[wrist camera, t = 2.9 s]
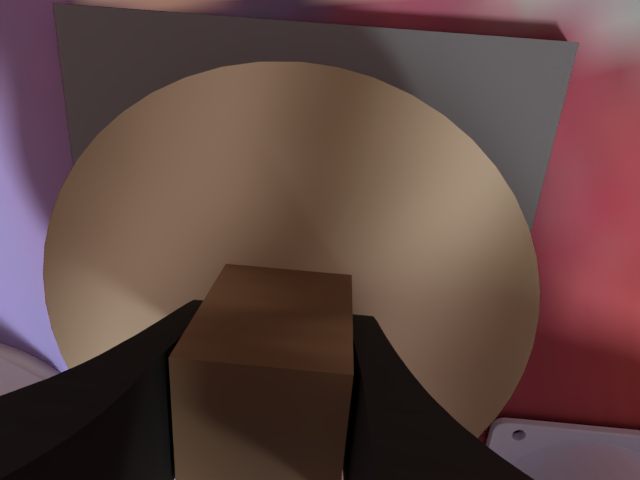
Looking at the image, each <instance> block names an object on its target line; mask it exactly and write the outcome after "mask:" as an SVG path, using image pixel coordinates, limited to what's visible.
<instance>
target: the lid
mask: <svg viewBox="0 0 640 480" xmlns="http://www.w3.org/2000/svg"><path fill="white" fill-rule="evenodd" d="M43 279H44V290H45V301H46V306H47V310H48V315H49V319H50V323H51V327H52V331H53V333H54V336H55V339H56V341H57V344H58V347H59V349H60V352H61V355H62V357H63V359H64V360H65V362H66V364H67V366H68V368H69V369H71V368H73V367H75V366H77V365H80V364H82V363H84V362H86V361H88V360H90V359H92V358H94V357H96V356H98V355H100V354H102V353H104V352H106V351H107V350H109V349H111V348H113V347H115V346H116V345H118V344H120V343H122V342H124V341H126V340H127V339H129V338H131V337H133V336H135V335H136V334H138V333H140V332H141V331H143V330H145V329H146V328H148V327H149V326H151V325H153V324H154V323H156V322H158V321H159V320H161V319H162V318H164V317H166V316H167V315H169V314H170V313H172V312H174V311H175V310H177V309H178V308H180V307H182V306H183V305H185V304H187V303H188V302H190V301H192V300H203V302H202V304H201V305H200V307H199V309H198V310H197V312H196V313H195V315H194V317H193V318H192V320H191V322H190V323H189V325H188V326H187V328H186V330H185V331H184V333H183V335H182V336H181V338H180V340H179V341H178V343H177V344H176V346H175V348H174V349H173V351H172V353H171V354H170V356H169V374H170V392H171V409H172V427H173V444H174V462H175V479H176V480H343V462H344V453H345V445H346V436H347V428H348V419H349V410H350V402H351V393H352V385H353V376H354V366H353V314H356V315H366V316H374V318H375V319H376V320H377V321H378V323H379V325H380V327H381V329H382V330H383V332H384V334H385V335H386V337H387V338H388V340H389V342H390V343H391V345H392V346H393V348H394V349H395V351H396V352H397V354H398V355H399V356H400V358H401V359H402V360H403V362H404V363H405V365H406V366H407V367H408V369H409V370H410V371H411V373H412V374H413V375H414V376H415V378H416V379H417V380H418V381H419V382H420V384H421V385H422V386H423V387H424V388H425V390H426V391H427V392H428V393H429V394H430V395H431V396H432V397H433V398H434V399H435V400H436V401H437V402H438V403H439V404H440V405H441V406H442V407H443V408H444V409H445V410H446V411H447V412H448V413H449V414H450V415H451V416H452V417H453V418H454V419H455V420H456V421H457V422H459V423H460V424H461V425H462V426H463V427H464V428H465V429H467V430H468V431H469V432H470V433H472V434H473V435H474V436H475V437H476V438H478V437H479V436H480V435H481V434H482V433H483V432H484V431H485V430H486V429H487V427H488V426H489V425H490V424H491V423H492V422H493V421H494V420H495V419H496V417H497V416H498V415H499V413H500V412H501V410H502V409H503V408H504V406H505V405H506V403H507V402H508V401H509V399H510V398H511V396H512V394H513V392H514V390H515V389H516V387H517V385H518V383H519V381H520V379H521V377H522V375H523V374H524V371H525V368H526V365H527V362H528V360H529V357H530V354H531V351H532V349H533V345H534V340H535V335H536V330H537V325H538V320H539V304H540V282H539V273H538V264H537V256H536V253H535V249H534V245H533V242H532V238H531V234H530V230H529V227H528V224H527V222H526V220H525V218H524V215H523V213H522V211H521V209H520V206H519V204H518V202H517V200H516V197H515V195H514V194H513V192H512V191H511V189H510V188H509V186H508V184H507V183H506V181H505V180H504V178H503V177H502V175H501V173H500V172H499V170H498V169H497V167H496V166H495V165H494V164H493V163H492V161H491V160H490V159H489V158H488V157H487V156H486V154H485V153H484V152H483V151H482V150H481V149H480V148H479V146H478V145H477V144H476V143H475V142H474V141H473V140H472V139H471V138H470V137H469V136H468V135H467V134H465V133H464V132H463V131H462V130H461V129H460V128H458V127H457V126H456V125H455V124H454V123H453V122H451V121H450V120H449V119H448V118H447V117H446V116H444V115H443V114H441V113H440V112H438V111H437V110H435V109H433V108H432V107H430V106H429V105H427V104H426V103H424V102H422V101H421V100H419V99H418V98H416V97H415V96H413V95H411V94H409V93H407V92H405V91H403V90H400V89H398V88H396V87H394V86H392V85H389V84H387V83H385V82H383V81H380V80H378V79H376V78H374V77H370V76H367V75H363V74H360V73H357V72H353V71H350V70H346V69H343V68H340V67H333V66H326V65H320V64H313V63H306V62H253V63H246V64H239V65H232V66H224V67H219V68H216V69H212V70H209V71H206V72H202V73H199V74H195V75H192V76H188V77H185V78H183V79H181V80H178V81H176V82H174V83H172V84H170V85H168V86H165V87H163V88H161V89H159V90H157V91H154V92H152V93H151V94H149V95H148V96H146V97H145V98H143V99H142V100H140V101H139V102H137V103H135V104H134V105H132V106H131V107H129V108H128V109H126V110H125V111H123V112H122V113H121V114H120V115H119V116H118V117H116V118H115V119H114V120H113V121H112V122H111V123H110V124H109V125H108V126H107V127H105V128H104V129H103V130H102V131H101V132H100V133H99V134H98V135H97V136H96V137H95V138H94V140H93V141H92V142H91V143H90V145H89V146H88V147H87V148H86V150H85V151H84V152H83V153H82V155H81V156H80V157H79V158H78V160H77V161H76V163H75V165H74V166H73V168H72V170H71V172H70V173H69V175H68V177H67V179H66V180H65V182H64V184H63V186H62V187H61V190H60V193H59V195H58V198H57V201H56V203H55V206H54V208H53V211H52V214H51V217H50V222H49V226H48V231H47V236H46V241H45V247H44V265H43Z"/></svg>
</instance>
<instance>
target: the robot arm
mask: <svg viewBox="0 0 640 480" xmlns="http://www.w3.org/2000/svg"><path fill="white" fill-rule="evenodd" d="M202 302H203V300H192V301H190V302H188V303H187V304H185V305H183V306H182V307H180V308H178V309H177V310H175V311H174V312H172V313H170V314H169V315H167V316H166V317H164V318H162V319H161V320H159V321H158V322H156V323H154V324H153V325H151V326H149V327H148V328H146V329H145V330H143V331H141V332H140V333H138V334H136V335H135V336H133V337H131V338H129V339H127V340H126V341H124V342H122V343H120V344H118V345H116V346H115V347H113V348H111V349H109V350H107V351H106V352H104V353H102V354H100V355H98V356H96V357H94V358H92V359H90V360H88V361H86V362H84V363H82V364H80V365H77V366H75V367H73V368H71V369H68V370H66V371H64V372H62V373H59V374H57V375H55V376H52V377H50V378H47V379H45V380H42V381H39V382H36V383H34V384H31V385H28V386H26V387H23V388H20V389H18V390H15V391H12V392H9V393H7V394H4V395H1V396H0V480H174V478H175V462H174V444H173V427H172V409H171V392H170V374H169V356H170V354H171V353H172V351H173V349H174V348H175V346H176V344H177V343H178V341H179V340H180V338H181V336H182V335H183V333H184V331H185V330H186V328H187V326H188V325H189V323H190V322H191V320H192V318H193V317H194V315H195V313H196V312H197V310H198V309H199V307H200V305H201V304H202ZM353 366H354V376H353V385H352V393H351V402H350V410H349V419H348V428H347V436H346V445H345V453H344V462H343V480H640V430H632V429H622V428H611V427H601V426H590V425H580V424H569V423H559V422H548V421H538V420H527V419H517V418H499V419H496V420H495V421H494V422H493V423H492V424H491V426H490V430H489V434H488V438H487V441H486V445H485V444H484V443H483V442H481V441H480V440H479V439H478V438H476V437H475V436H474V435H473V434H472V433H470V432H469V431H468V430H467V429H465V428H464V427H463V426H462V425H461V424H460V423H459V422H457V421H456V420H455V419H454V418H453V417H452V416H451V415H450V414H449V413H448V412H447V411H446V410H445V409H444V408H443V407H442V406H441V405H440V404H439V403H438V402H437V401H436V400H435V399H434V398H433V397H432V396H431V395H430V394H429V393H428V392H427V391H426V390H425V388H424V387H423V386H422V385H421V384H420V382H419V381H418V380H417V379H416V378H415V376H414V375H413V374H412V373H411V371H410V370H409V369H408V367H407V366H406V365H405V363H404V362H403V360H402V359H401V358H400V356H399V355H398V354H397V352H396V351H395V349H394V348H393V346H392V345H391V343H390V342H389V340H388V338H387V337H386V335H385V334H384V332H383V330H382V329H381V327H380V325H379V323H378V321H377V320H376V319H375V318H374V316H366V315H356V314H353ZM516 430H521V431H520V432H518V433H513V432H515V431H516Z"/></svg>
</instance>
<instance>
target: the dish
mask: <svg viewBox="0 0 640 480" xmlns="http://www.w3.org/2000/svg"><path fill="white" fill-rule="evenodd" d="M57 374H59V372H58V371H57V370H55V369H54V368H53V367H51V366H50V365H48V364H46V363H45V362H43V361H41V360H40V359H38V358H36V357H34V356H32V355H30V354H28V353H26V352H24V351H22V350H19V349H16V348H14V347H11V346H8V345H5V344H2V343H0V396H1V395H4V394H7V393H9V392H12V391H15V390H18V389H20V388H23V387H26V386H28V385H31V384H34V383H36V382H39V381H42V380H45V379H47V378H50V377H52V376H55V375H57Z"/></svg>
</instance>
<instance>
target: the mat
mask: <svg viewBox="0 0 640 480" xmlns="http://www.w3.org/2000/svg"><path fill="white" fill-rule="evenodd" d="M53 9H54V17H55V25H56V33H57V41H58V49H59V57H60V65H61V73H62V81H63V89H64V97H65V105H66V113H67V121H68V129H69V137H70V145H71V153H72V161H73V166H74V165H75V163H76V161H77V160H78V158H79V157H80V156H81V155H82V153H83V152H84V151H85V150H86V148H87V147H88V146H89V145H90V143H91V142H92V141H93V140H94V138H95V137H96V136H97V135H98V134H99V133H100V132H101V131H102V130H103V129H104V128H105V127H107V126H108V125H109V124H110V123H111V122H112V121H113V120H114V119H115V118H116V117H118V116H119V115H120V114H121V113H122V112H123V111H125V110H126V109H128V108H129V107H131V106H132V105H134V104H135V103H137V102H139V101H140V100H142V99H143V98H145V97H146V96H148V95H149V94H151V93H152V92H154V91H157V90H159V89H161V88H163V87H165V86H168V85H170V84H172V83H174V82H176V81H178V80H181V79H183V78H185V77H188V76H192V75H195V74H199V73H202V72H206V71H209V70H212V69H216V68H219V67H224V66H232V65H239V64H246V63H253V62H306V63H313V64H320V65H326V66H333V67H340V68H343V69H346V70H350V71H353V72H357V73H360V74H363V75H367V76H370V77H374V78H376V79H378V80H380V81H383V82H385V83H387V84H389V85H392V86H394V87H396V88H398V89H400V90H403V91H405V92H407V93H409V94H411V95H413V96H415V97H416V98H418V99H419V100H421V101H422V102H424V103H426V104H427V105H429V106H430V107H432V108H433V109H435V110H437V111H438V112H440V113H441V114H443V115H444V116H446V117H447V118H448V119H449V120H450V121H451V122H453V123H454V124H455V125H456V126H457V127H458V128H460V129H461V130H462V131H463V132H464V133H465V134H467V135H468V136H469V137H470V138H471V139H472V140H473V141H474V142H475V143H476V144H477V145H478V146H479V148H480V149H481V150H482V151H483V152H484V153H485V154H486V156H487V157H488V158H489V159H490V160H491V161H492V163H493V164H494V165H495V166H496V167H497V169H498V170H499V172H500V173H501V175H502V177H503V178H504V180H505V181H506V183H507V184H508V186H509V188H510V189H511V191H512V192H513V194H514V195H515V197H516V200H517V202H518V204H519V206H520V209H521V211H522V213H523V215H524V218H525V220H526V222H527V224H528V227H529V230H530V233H531V229H532V225H533V221H534V218H535V214H536V210H537V206H538V202H539V198H540V194H541V190H542V186H543V182H544V178H545V174H546V170H547V166H548V162H549V158H550V154H551V150H552V147H553V143H554V139H555V135H556V131H557V127H558V123H559V119H560V115H561V111H562V107H563V103H564V99H565V95H566V91H567V87H568V83H569V80H570V76H571V72H572V68H573V64H574V60H575V56H576V52H577V48H578V44H579V42H569V41H555V40H542V39H529V38H515V37H502V36H488V35H475V34H461V33H448V32H435V31H421V30H408V29H394V28H381V27H367V26H354V25H340V24H327V23H314V22H300V21H287V20H273V19H260V18H246V17H233V16H220V15H206V14H193V13H179V12H166V11H152V10H139V9H126V8H112V7H99V6H85V5H72V4H58V3H53ZM478 438H479V437H478Z"/></svg>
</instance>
